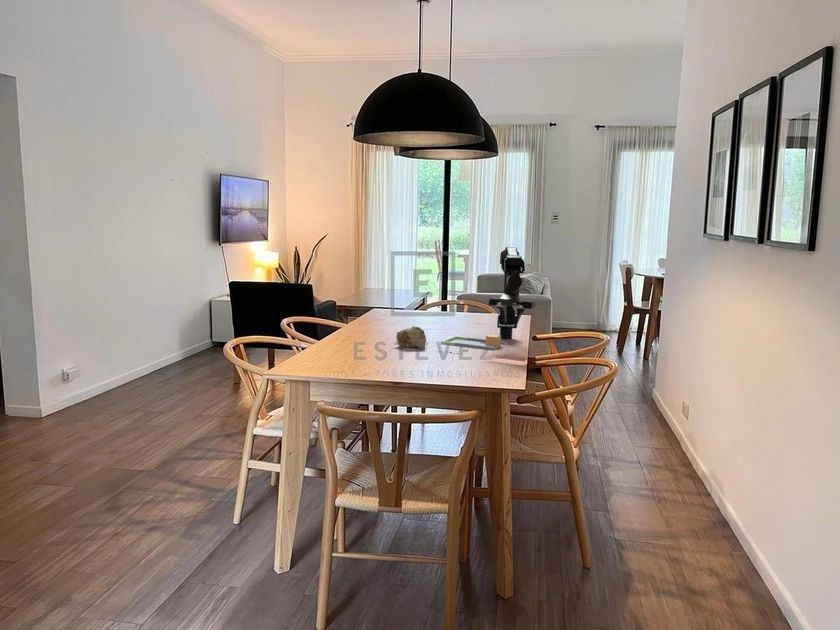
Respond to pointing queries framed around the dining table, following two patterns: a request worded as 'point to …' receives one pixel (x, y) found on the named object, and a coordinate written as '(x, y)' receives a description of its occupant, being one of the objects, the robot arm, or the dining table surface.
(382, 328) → the dining table surface
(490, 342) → the block
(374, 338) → the dining table surface
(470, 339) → the box
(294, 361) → the dining table surface
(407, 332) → the rock
